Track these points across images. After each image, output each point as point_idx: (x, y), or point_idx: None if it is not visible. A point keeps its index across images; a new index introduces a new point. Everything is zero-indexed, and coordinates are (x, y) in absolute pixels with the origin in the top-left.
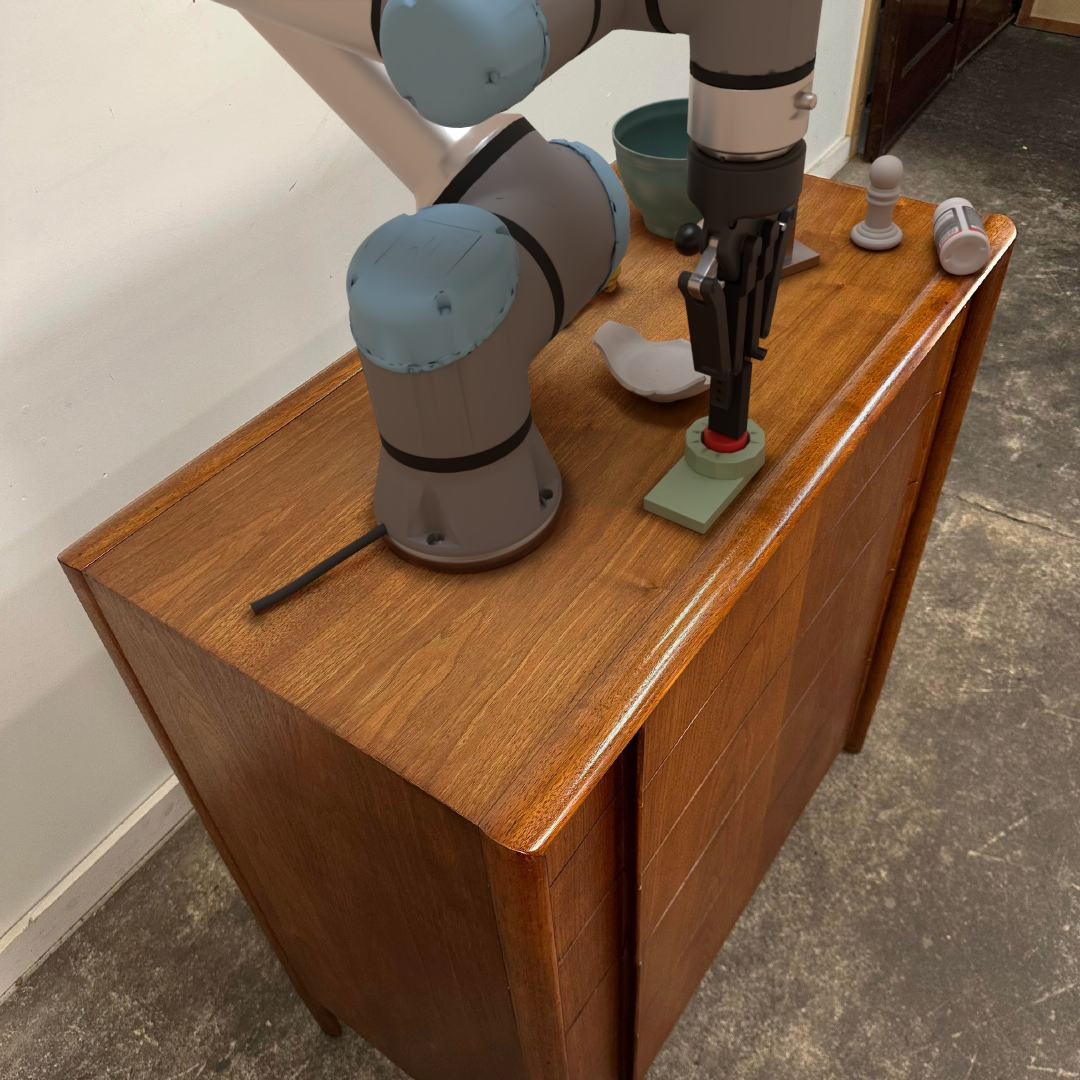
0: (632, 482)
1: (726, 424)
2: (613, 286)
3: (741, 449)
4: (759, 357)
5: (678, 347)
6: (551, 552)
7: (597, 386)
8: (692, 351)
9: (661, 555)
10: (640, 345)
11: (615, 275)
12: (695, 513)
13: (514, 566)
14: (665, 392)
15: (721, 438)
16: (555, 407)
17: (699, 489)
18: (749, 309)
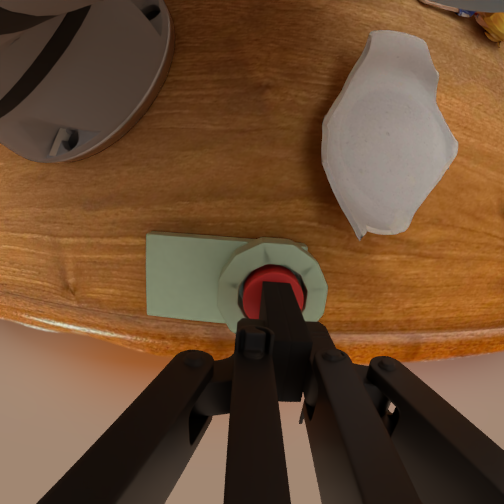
0: (187, 194)
1: (260, 317)
2: (493, 39)
3: None
4: (299, 422)
5: (443, 143)
6: (57, 178)
7: (346, 64)
8: (147, 388)
9: (105, 281)
10: (424, 93)
11: (501, 37)
12: (155, 300)
13: None
14: (329, 176)
15: (255, 303)
16: (280, 35)
17: (194, 287)
18: (323, 481)
